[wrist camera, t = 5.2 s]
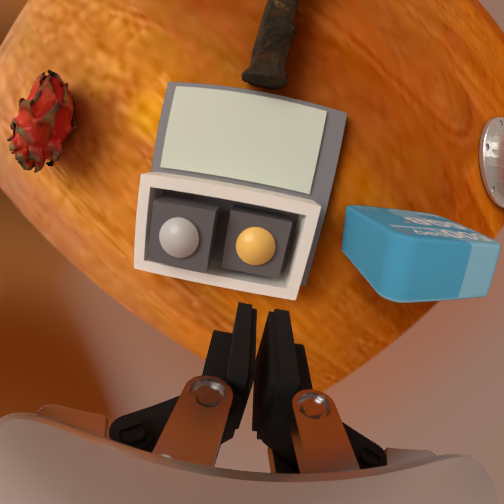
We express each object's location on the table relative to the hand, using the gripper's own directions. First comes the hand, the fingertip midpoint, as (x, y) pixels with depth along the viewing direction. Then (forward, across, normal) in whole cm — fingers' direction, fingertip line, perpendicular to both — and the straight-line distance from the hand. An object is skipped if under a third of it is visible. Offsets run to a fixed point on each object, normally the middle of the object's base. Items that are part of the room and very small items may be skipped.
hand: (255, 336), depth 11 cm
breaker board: (+17, +3, -4) cm, 18 cm away
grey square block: (+14, +6, 0) cm, 15 cm away
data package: (+17, -14, -3) cm, 22 cm away
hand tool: (+17, +3, -23) cm, 29 cm away
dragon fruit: (+17, +25, -9) cm, 32 cm away
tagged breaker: (+15, 0, 0) cm, 15 cm away
